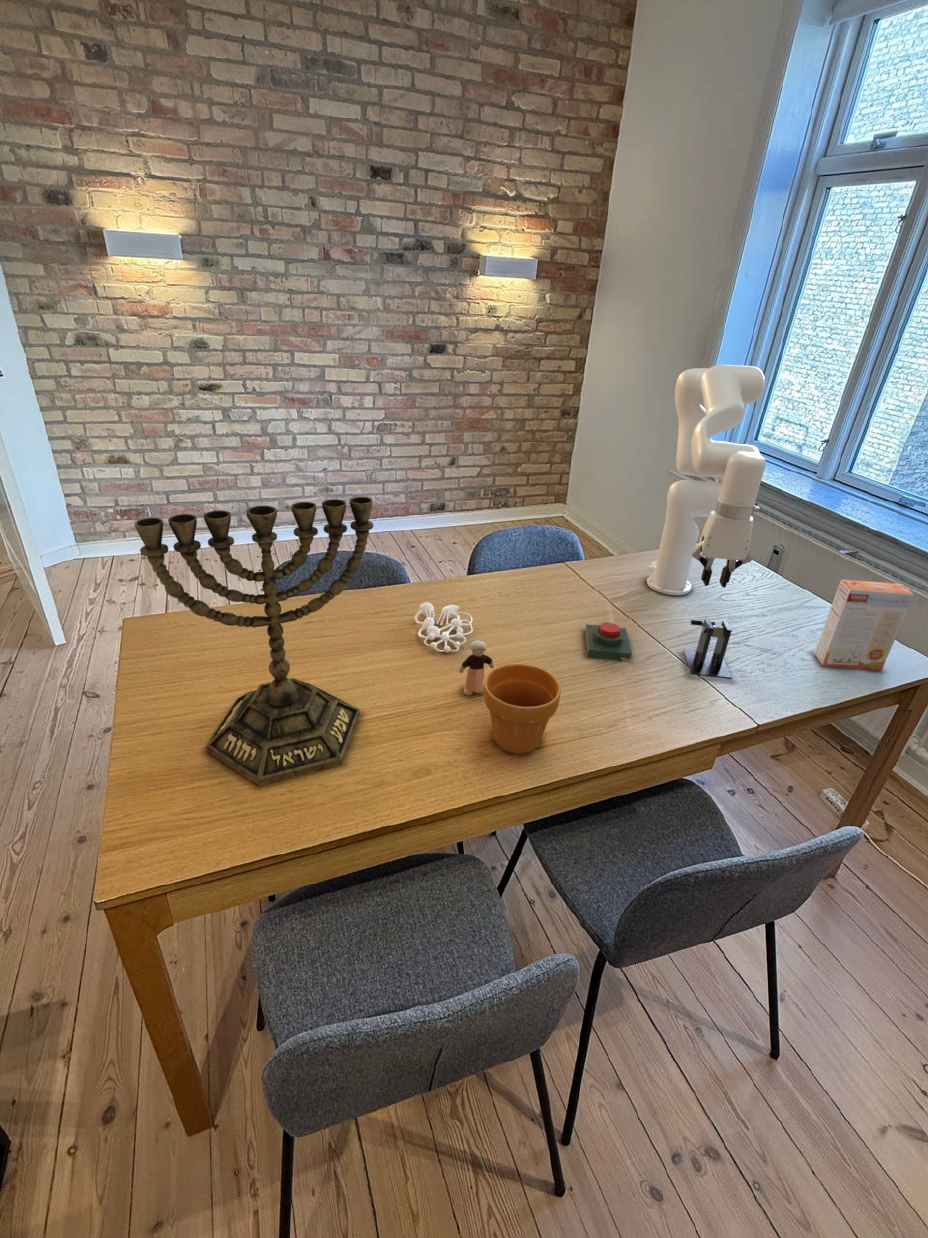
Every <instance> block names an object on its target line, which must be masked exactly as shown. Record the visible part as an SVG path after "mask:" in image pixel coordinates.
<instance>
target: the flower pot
mask: <svg viewBox="0 0 928 1238" xmlns="http://www.w3.org/2000/svg"><path fill="white" fill-rule="evenodd" d="M483 690H484V693H483V701H484V704H485V706H486V708H487V710H489V716H490V722H491V729H492V733H493V737H494V741H495V743H496V744H497V745H498V747H500V748H501V749H502V750H504V751H505V752H509V753H512V754H525V753H526V754H527V753H531V752H532V751H534V750H535V749H537V747H538V746H539V744H540V742H541V740H542V737H543V735H544V734H545V731H546V728H547V725H548V722H549V721H550V718H552V717H553V716H554V715H555V713H556V712H557V710H558V708H559V704H560V700H561V695H562V694H561V692H562V688H561V684H560V682H559V680H558V679H557V677H556V676H555V675H554V674H552V673H551V672H549V671H548V670H546V669H544V668H541V667H539V666H536V665H531V664H526V663H509V664H504V665H500V666H498V667H494V668H493V669H492V670H491V671H490V672H488V673H487V675H486V676H485V678H484V680H483Z"/></svg>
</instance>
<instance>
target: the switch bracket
mask: <svg viewBox="0 0 928 1238" xmlns="http://www.w3.org/2000/svg"><path fill="white" fill-rule="evenodd" d="M703 621H704V624H703V626H702V628H701V631H700V635H699V639H698V643H697V647H696V650H695V651H694V650H683V654H684V658H685V660H686V661H685V662H686V663H687V666H688V669H689V671H690V675H692V676H702V677H710V678H719V679H729V680H732V679H733V677H732V674H731V672H730V669H729V667H728V665H727V663H726V662H725V659H724V658H725V655H726V651H727V648H728V644H729V642H730V638H731V636H732V628H731V626H730V624H729V622H728V620H722V622H721V625H720V626H722V627H723V628H724V630H723V636H722V638H716V642H715V646H714V650H713V652H708V649H709V647H710V642H711V639H712V632H713V626H712V624H711V622H710V621H711V620H710V619H709V618H704V620H703Z"/></svg>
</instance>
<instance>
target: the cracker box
mask: <svg viewBox="0 0 928 1238" xmlns="http://www.w3.org/2000/svg"><path fill="white" fill-rule="evenodd" d="M914 597H915V593H914V592H913V591H911V590H910V589H909V588H908V587H906V586H905V585H904V584H903V583H894V582H881V581H869V580H868V581H867V580H855V579H840V581H839V584H838V587H837V590H836V592H835V594H834V597H833V601H832V603H831V606H830V608H829V611H828V615H827V616H826V619H825V622H824V625H823V628H822V630H821V634H820V637H819V639H818V642H817V644H816V648H815V650H814V653H813V655H814V656H815V657H816V659H817V660H818V662H819V663H820V665H821V666H823V667H829V668H841V669H853V670H854V669H855V670H864V671H866V670H867V671H876V672H877V671H878V672H882V671H883V668H884V666H885V664H886V661H887V659H888V657H889V655H890V653H891V650H892V649H893V648H892V647H893V646H894V643H895V641H896V639H897V637H898V633H899V631H900V629H901V627H902V625H903V622H904V620H905V618H906V615H907V613H908V610H909V608H910V606H911V604H912V602H913V599H914Z"/></svg>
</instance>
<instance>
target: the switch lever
mask: <svg viewBox="0 0 928 1238" xmlns="http://www.w3.org/2000/svg"><path fill="white" fill-rule="evenodd" d="M710 622H711V624H712V626H713V632H712V636H711V638H716V639H718V638H722V636H723V630H724V628H723V627H722V626H721V625H718V624H716V622H715V621H714V620H713V621H712V620H710ZM703 624H704V620H702V619H691V620H690V626H698V627H699V626H700V627H703Z"/></svg>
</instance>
